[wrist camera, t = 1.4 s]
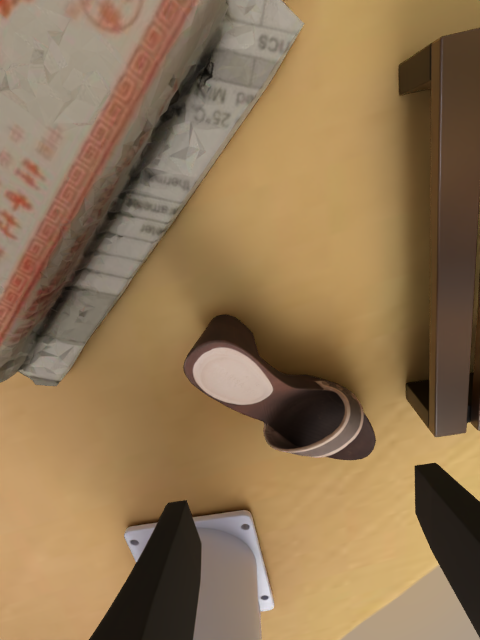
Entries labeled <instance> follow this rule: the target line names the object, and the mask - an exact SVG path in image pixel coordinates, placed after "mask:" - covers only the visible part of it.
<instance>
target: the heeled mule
mask: <svg viewBox="0 0 480 640" xmlns="http://www.w3.org/2000/svg"><path fill="white" fill-rule="evenodd" d="M184 373H185V375H186V376H187V378H188V379H189V381H190V382H191V383H192V384H193V385H194V386H195V387H197V388H198V389H199V390H201V391H202V392H203V393H205V394H206V395H208V396H209V397H211V398H213V399H215V400H217V401H218V402H220V403H222V404H223V405H225V406H227V407H229V408H231V409H233V410H235V411H237V412H239V413H242V414H244V415H247V416H249V417H252V418H255V419H258V420H260V421H263V422H264V430H263V432H264V437H265V440H266V442H267V443H268V444H269V445H270V446H271V447H272V448H274V449H276V450H279V451H283V452H288V453H292V454H296V455H302V456H310V457H329V458H334V459H341V460H357V459H363V458H365V457H367V456H368V455H369V454H370V453H371V452H372V450H373V449H374V446H375V442H376V440H375V434H374V431H373V428H372V426H371V424H370V422H369V420H368V418H367V417H366V415H365V414H364V412H363V408H362V406H361V404H360V402H359V401H358V399H357V398H356V396H355V395H354V394H353V393H352V392H351V391H349V390H348V389H346V388H345V387H343V386H341V385H339V384H337V383H334V382H330V381H327V380H324V379H320V378H317V377H313V376H309V375H287V374H283V373H281V372H279V371H277V370H276V369H274V368H273V367H272V366H270V365H269V364H268V363H267V362H265V361H264V360H263V359H262V358H261V357H260V356H259V353H258V350H257V346H256V343H255V339H254V336H253V333H252V332H251V331H250V330H249V329H248V328H247V327H246V326H245V325H244V324H243V323H242V322H241V321H240V320H238V319H237V318H235V317H233V316H230V315H219V316H216V317H215V318H213V319H212V320H211V322H210V323H209V325H208V327H207V328H206V330H205V331H204V333H203V334H202V336H201V337H200V338H199V340H198V341H197V342H196V344H195V345H194V346H193V348H192V349H191V351H190V352H189V354H188V355H187V358H186V360H185V362H184Z"/></svg>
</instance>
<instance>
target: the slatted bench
mask: <svg viewBox="0 0 480 640" xmlns="http://www.w3.org/2000/svg"><path fill="white" fill-rule="evenodd" d="M427 89H431V206H430V365H429V380H424V381H418V382H412V383H407V384H406V398H407V400H408V402H409V403H410V404H411V406H412V407H413V408H414V410H415V411H416V412H417V414H418V415H419V416H420V418H421V419H422V420H423V422H424V423H425V424H426V426H427V427H428V428H429V430H430V431H431V432H432V434H433V435H434V436H435V437H441V436H448V435H454V434H461V433H466V428H467V423H468V422H471V424H472V425H473V426H474V427H475V428H476V429H477V430H479V431H480V275H479V292H478V308H477V325H476V341H475V357H474V372H472V373H470V357H471V339H472V321H473V303H474V286H475V268H476V250H477V232H478V214H479V197H480V28H476V29H472V30H467V31H463V32H459V33H454V34H450V35H446V36H442V37H440V38H439V39H437V40H436V41H434V42H433V43H431V44H430V45H428V46H427V47H425V48H424V49H422V50H421V51H419V52H418V53H416V54H415V55H413V56H412V57H410V58H409V59H407V60H406V61H404V62H403V63H401V64H400V65H399V92H400V95H404V94H409V93H413V92H418V91H422V90H427Z"/></svg>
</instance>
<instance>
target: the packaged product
mask: <svg viewBox="0 0 480 640" xmlns="http://www.w3.org/2000/svg"><path fill="white" fill-rule="evenodd" d="M304 24H305V23H303V22H302V21H301V20H300V19H299V18H298V17H297V16H296V15H295V14H294V13H293V12H292V11H291V10H290V9H289V8H288V6H287V5H286V4H285V3H284V2H283V1H282V0H0V382H3V381H5V380H7V379H8V378H10V377H11V376H13V375H14V374H15V373H16V372H17V371H18V372H20V373H22V374H23V375H25V376H27V377H28V378H30V379H31V380H33V382H34V383H35V384H36V385H45V386H57V385H58V384H59V382H60V381H61V380H62V379H63V378H64V376H65V375H66V374H67V373H68V371H69V370H70V369H71V367H72V366H73V364H74V362H75V361H76V359H77V357H78V356H79V354H80V352H81V351H82V349H83V347H84V346H85V344H86V342H87V341H88V339H89V338H90V337H91V335H92V334H93V333H94V331H95V330H96V329H97V327H98V326H99V325H100V323H101V322H102V321H103V319H104V318H105V316H106V315H107V314H108V312H109V311H110V310H111V308H112V307H113V306H114V304H115V303H116V302H117V300H118V299H119V298H120V296H121V295H122V294H123V292H124V291H125V289H126V288H127V286H128V284H129V282H130V281H131V279H132V278H133V277H134V275H135V274H136V273H137V271H138V270H139V268H140V267H141V266H142V264H143V263H144V262H145V260H146V259H147V257H148V256H149V255H150V253H151V252H152V251H153V249H154V248H155V246H156V245H157V244H158V242H159V241H160V240H161V238H162V237H163V235H164V234H165V233H166V231H167V230H168V228H169V227H170V226H171V224H172V223H173V221H174V220H175V218H176V217H177V216H178V214H179V213H180V211H181V210H182V208H183V207H184V206H185V204H186V203H187V201H188V200H189V198H190V197H191V196H192V194H193V193H194V191H195V190H196V188H197V187H198V186H199V184H200V183H201V181H202V180H203V178H204V177H205V175H206V174H207V173H208V171H209V170H210V168H211V167H212V165H213V164H214V163H215V161H216V160H217V158H218V157H219V155H220V154H221V152H222V151H223V150H224V148H225V147H226V145H227V144H228V142H229V141H230V139H231V138H232V137H233V135H234V134H235V132H236V131H237V129H238V128H239V127H240V125H241V124H242V122H243V121H244V119H245V118H246V116H247V115H248V114H249V112H250V111H251V109H252V108H253V106H254V105H255V104H256V102H257V101H258V99H259V98H260V96H261V95H262V93H263V92H264V91H265V89H266V88H267V86H268V85H269V83H270V82H271V80H272V78H273V76H274V75H275V73H276V71H277V70H278V68H279V66H280V65H281V63H282V61H283V59H284V58H285V56H286V54H287V53H288V51H289V49H290V47H291V46H292V44H293V42H294V41H295V39H296V37H297V35H298V34H299V32H300V30H301V29H302V27H303V25H304Z"/></svg>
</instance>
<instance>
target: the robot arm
mask: <svg viewBox="0 0 480 640" xmlns="http://www.w3.org/2000/svg"><path fill="white" fill-rule="evenodd" d="M415 512H416V515H417V518H418V520H419V522H420V525H421V527H422V530H423V532H424V534H425V537H426V539H427V541H428V543H429V546H430V548H431V550H432V552H433V554H434V556H435V558H436V559H437V561H438V563H439V565H440V567H441V568H442V570H443V572H444V574H445V576H446V578H447V579H448V581H449V583H450V585H451V587H452V589H453V590H454V592H455V594H456V596H457V598H458V599H459V601H460V603H461V605H462V607H463V608H464V610H465V612H466V614H467V616H468V617H469V619H470V621H471V623H472V624H473V626H474V628H475V630H476V632H477V634H478V635H479V637H480V502H479V501H478V500H477V499H476V498H475V497H474V496H473V495H471V494H470V493H469V492H468V491H467V490H466V489H465V488H463V487H462V486H461V485H460V484H459V483H458V482H457V481H456V480H454V479H453V478H452V477H451V476H450V475H449V474H448V473H447V472H446V471H445V470H443V469H442V468H441V467H440V466H439V465H438V464H436V463H430V464H424V465H417V466H415ZM124 538H125V540H126V542H127V544H128V546H129V548H130V550H131V553H132V555H133V557H134V559H135V561H136V564H135V566H134V568H133V570H132V571H131V573H130V575H129V577H128V579H127V580H126V582H125V584H124V585H123V587H122V589H121V590H120V592H119V594H118V595H117V597H116V598H115V600H114V602H113V603H112V605H111V607H110V608H109V610H108V612H107V613H106V615H105V616H104V618H103V619H102V621H101V622H100V624H99V626H98V627H97V629H96V630H95V632H94V633H93V635H92V636H91V637H90V639H89V640H262V635H261V615H260V611H268V610H271V609H273V608H274V599H273V595H272V591H271V587H270V583H269V579H268V576H267V572H266V568H265V564H264V560H263V556H262V552H261V549H260V545H259V541H258V537H257V533H256V529H255V526H254V522H253V518H252V515H251V513H250V512H249V511H246V510H240V511H233V512H226V513H219V514H212V515H205V516H198V517H192V514H191V512H190V509H189V506H188V503H187V500H184V501H177V502H171V503H168V504H167V505H166V506H165V509H164V511H163V513H162V515H161V517H160V519H159V521H158V522H157V523H150V524H143V525H136V526H131V527H128V528H127V529H126V531H125V534H124Z"/></svg>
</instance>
